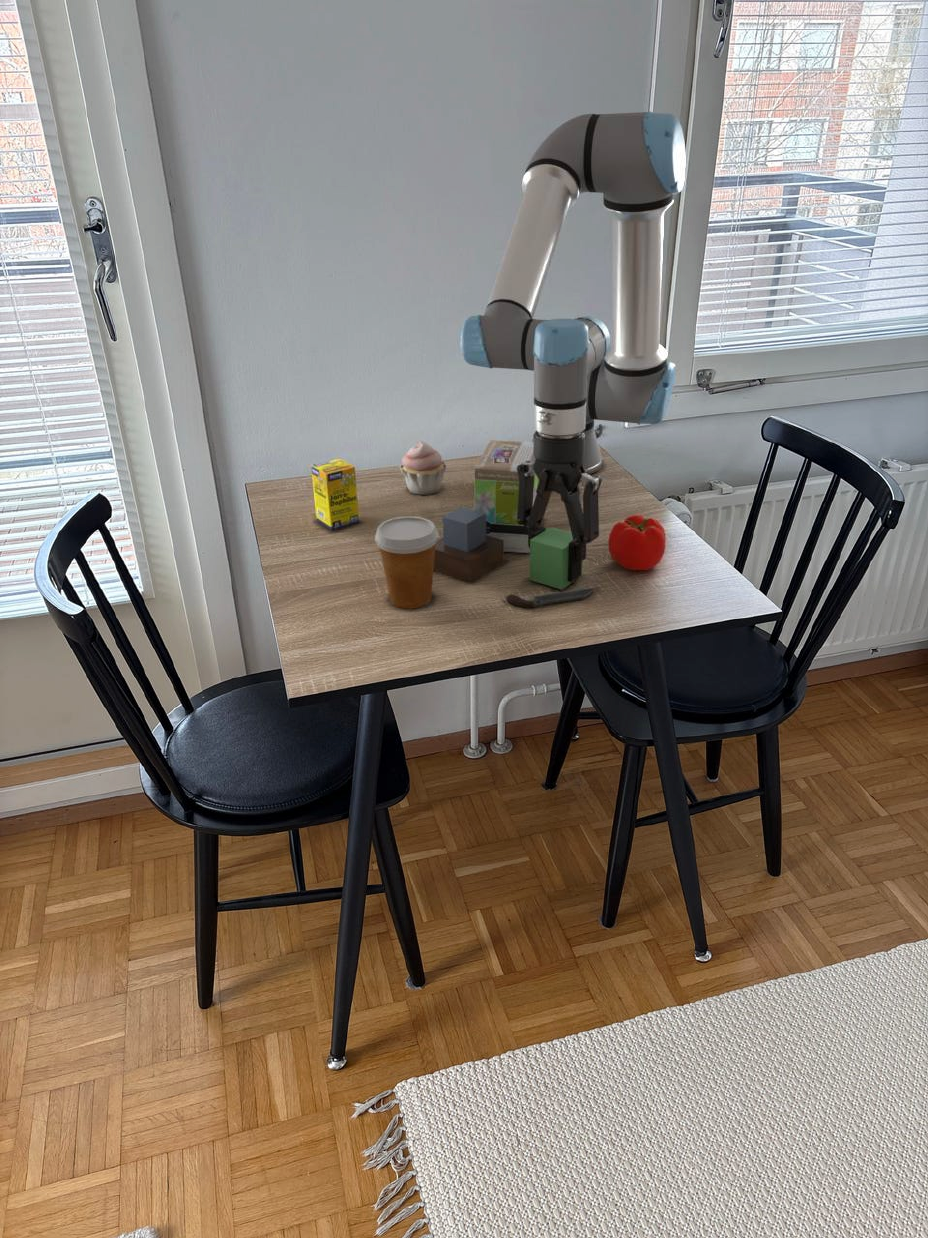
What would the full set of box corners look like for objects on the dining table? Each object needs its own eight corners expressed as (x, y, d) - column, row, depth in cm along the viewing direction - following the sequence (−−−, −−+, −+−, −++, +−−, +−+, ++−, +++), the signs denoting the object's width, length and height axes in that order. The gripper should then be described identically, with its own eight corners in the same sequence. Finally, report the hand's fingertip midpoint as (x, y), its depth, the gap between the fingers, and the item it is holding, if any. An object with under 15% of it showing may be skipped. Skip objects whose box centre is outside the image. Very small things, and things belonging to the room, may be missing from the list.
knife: (513, 610, 139) (513, 606, 139) (505, 598, 142) (505, 594, 142) (601, 597, 142) (601, 593, 141) (591, 585, 145) (592, 582, 145)
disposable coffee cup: (454, 598, 143) (451, 526, 137) (408, 620, 138) (402, 547, 132) (413, 578, 149) (409, 509, 143) (367, 599, 144) (360, 528, 138)
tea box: (532, 554, 156) (532, 471, 148) (473, 551, 158) (471, 468, 150) (543, 518, 169) (544, 440, 161) (489, 515, 170) (487, 437, 163)
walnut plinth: (460, 548, 159) (459, 527, 157) (503, 562, 154) (503, 540, 152) (427, 568, 152) (426, 546, 150) (471, 582, 148) (470, 560, 146)
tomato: (626, 581, 147) (629, 537, 143) (598, 558, 154) (600, 516, 150) (677, 569, 149) (681, 526, 146) (647, 548, 157) (650, 506, 153)
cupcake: (402, 480, 187) (399, 432, 182) (449, 480, 186) (447, 431, 181) (398, 498, 179) (394, 449, 174) (446, 498, 178) (444, 448, 173)
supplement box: (332, 531, 166) (325, 474, 161) (316, 521, 171) (309, 464, 165) (360, 523, 169) (355, 466, 164) (344, 513, 174) (338, 457, 168)
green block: (550, 566, 151) (550, 526, 148) (582, 575, 148) (583, 535, 144) (529, 580, 147) (529, 539, 144) (561, 590, 144) (562, 549, 140)
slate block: (462, 534, 154) (461, 506, 152) (486, 541, 151) (485, 513, 149) (443, 545, 151) (442, 516, 148) (468, 552, 148) (467, 523, 146)
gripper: (491, 427, 138) (493, 566, 150) (603, 450, 128) (596, 598, 139) (519, 414, 143) (519, 550, 155) (629, 435, 133) (620, 579, 145)
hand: (556, 572), depth 147 cm, fingers closed on green block, 6 cm apart
